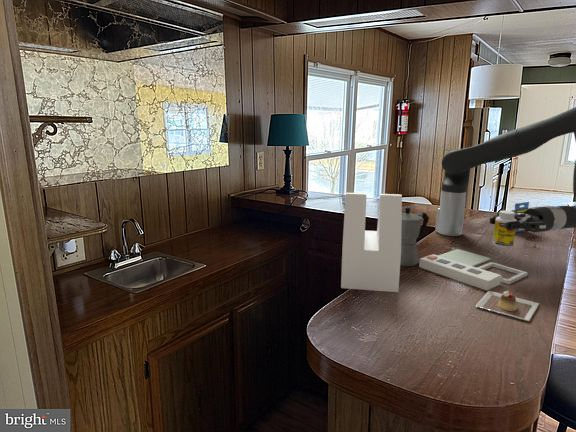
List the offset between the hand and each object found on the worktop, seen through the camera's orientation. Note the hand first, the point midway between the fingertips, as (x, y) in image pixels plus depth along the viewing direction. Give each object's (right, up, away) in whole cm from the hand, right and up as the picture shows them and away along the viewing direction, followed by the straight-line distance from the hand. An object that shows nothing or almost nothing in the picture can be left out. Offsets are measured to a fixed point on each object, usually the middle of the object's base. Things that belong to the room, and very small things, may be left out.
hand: (498, 223), depth 120 cm
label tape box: (+31, -4, +50) cm, 59 cm away
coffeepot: (-22, -13, +16) cm, 30 cm away
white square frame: (+3, -15, +4) cm, 16 cm away
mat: (-3, -12, +18) cm, 22 cm away
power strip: (-9, -15, +4) cm, 19 cm away
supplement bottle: (+2, -7, +2) cm, 8 cm away
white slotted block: (-37, -16, +3) cm, 41 cm away
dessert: (-6, -21, -16) cm, 27 cm away
